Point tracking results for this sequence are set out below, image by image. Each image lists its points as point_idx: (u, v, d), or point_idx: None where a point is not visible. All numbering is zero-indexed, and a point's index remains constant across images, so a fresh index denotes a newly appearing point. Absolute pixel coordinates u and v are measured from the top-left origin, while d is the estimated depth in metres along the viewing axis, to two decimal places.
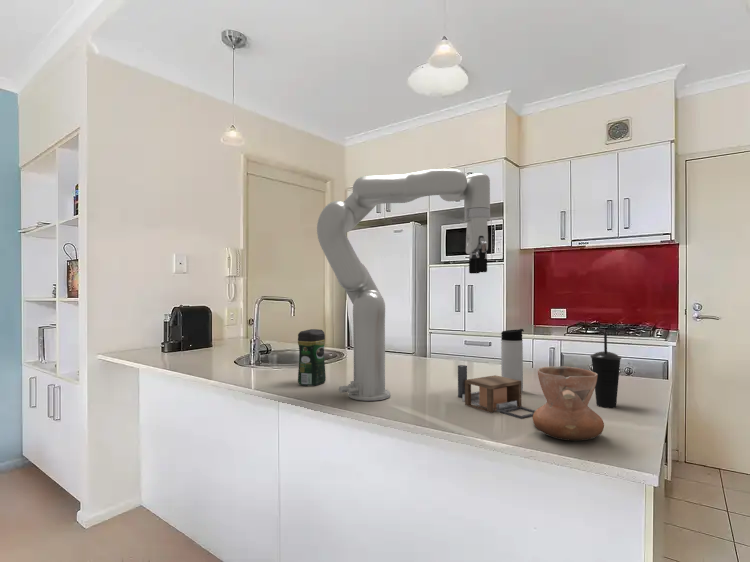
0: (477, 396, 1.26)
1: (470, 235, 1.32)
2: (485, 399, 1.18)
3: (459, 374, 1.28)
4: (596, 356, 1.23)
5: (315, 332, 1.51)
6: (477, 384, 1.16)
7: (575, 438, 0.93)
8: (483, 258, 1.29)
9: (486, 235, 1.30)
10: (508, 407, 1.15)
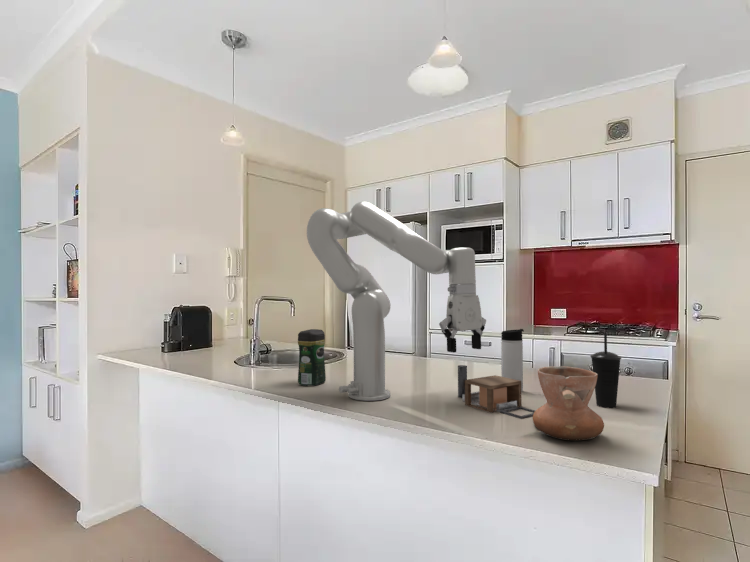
0: (477, 396, 1.26)
1: (477, 312, 1.29)
2: (485, 399, 1.18)
3: (459, 374, 1.28)
4: (596, 356, 1.23)
5: (315, 332, 1.51)
6: (477, 384, 1.16)
7: (575, 438, 0.93)
8: None
9: None
10: (508, 407, 1.15)
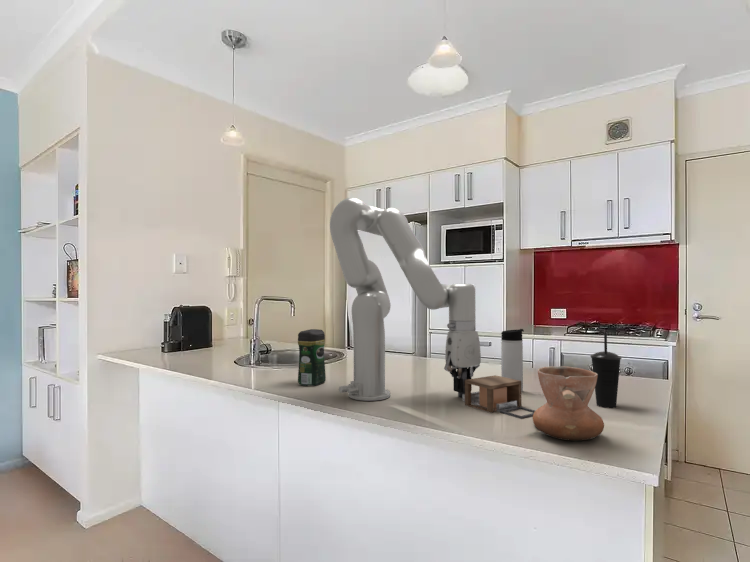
0: (477, 396, 1.26)
1: (476, 348, 1.28)
2: (485, 399, 1.18)
3: None
4: (596, 356, 1.23)
5: (315, 332, 1.51)
6: (477, 384, 1.16)
7: (575, 438, 0.93)
8: None
9: None
10: (508, 407, 1.15)
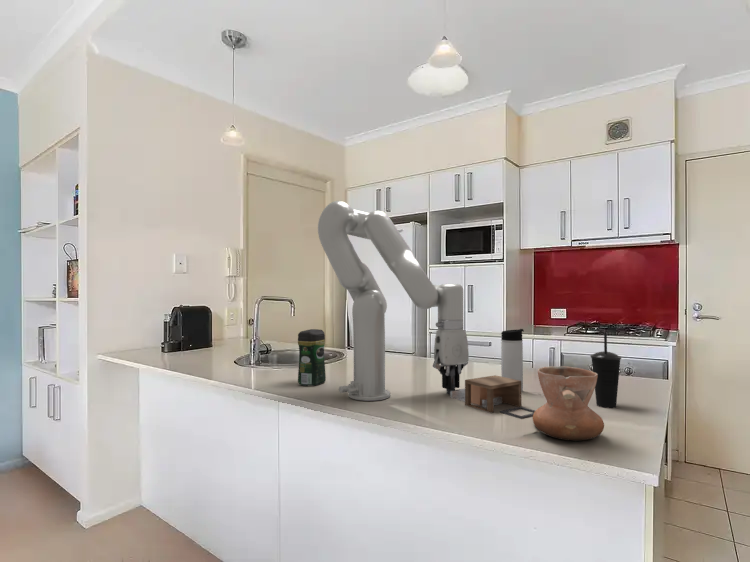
0: None
1: (464, 346, 1.32)
2: (471, 395, 1.22)
3: None
4: (596, 356, 1.23)
5: (315, 332, 1.51)
6: (477, 384, 1.16)
7: (575, 438, 0.93)
8: None
9: None
10: (493, 403, 1.19)
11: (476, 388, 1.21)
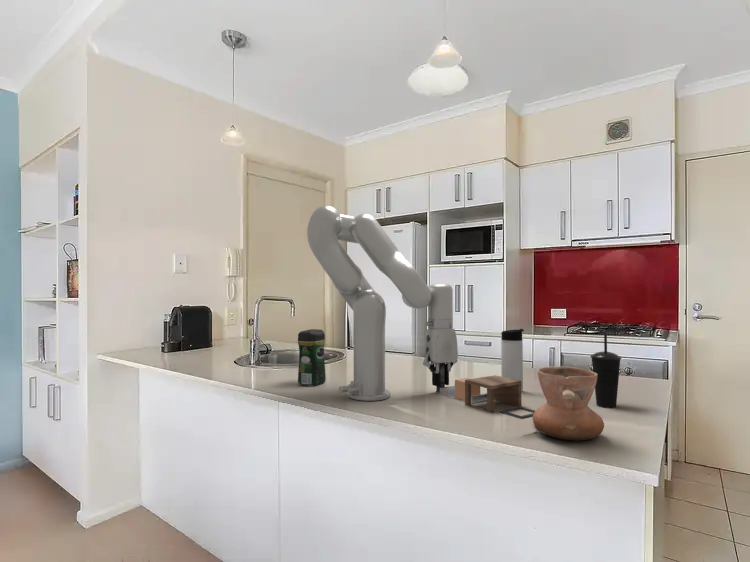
0: (454, 390, 1.34)
1: (453, 345, 1.36)
2: (460, 392, 1.26)
3: None
4: (596, 356, 1.23)
5: (315, 332, 1.51)
6: (477, 384, 1.16)
7: (575, 438, 0.93)
8: None
9: None
10: (481, 399, 1.23)
11: (464, 385, 1.25)
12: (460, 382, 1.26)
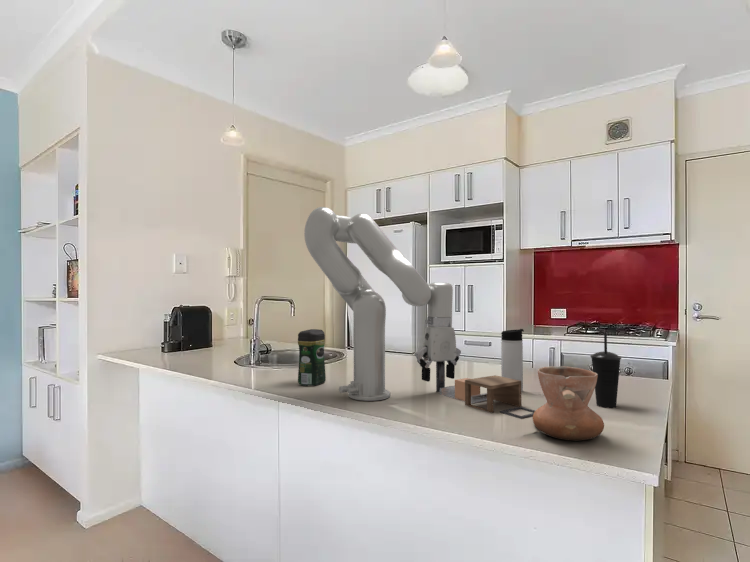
0: (454, 390, 1.34)
1: (452, 344, 1.36)
2: (460, 392, 1.26)
3: (437, 369, 1.36)
4: (596, 356, 1.23)
5: (315, 332, 1.51)
6: (477, 384, 1.16)
7: (575, 438, 0.93)
8: None
9: None
10: (481, 399, 1.23)
11: (463, 385, 1.25)
12: (460, 382, 1.26)
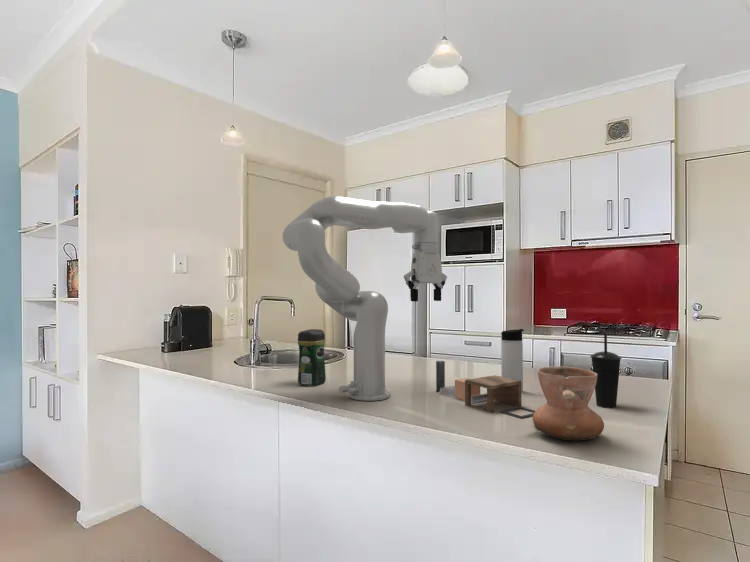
0: (454, 390, 1.34)
1: (438, 267, 1.47)
2: (460, 392, 1.26)
3: (437, 369, 1.36)
4: (596, 356, 1.23)
5: (315, 332, 1.51)
6: (477, 384, 1.16)
7: (575, 438, 0.93)
8: None
9: None
10: (481, 399, 1.23)
11: (463, 385, 1.25)
12: (460, 382, 1.26)
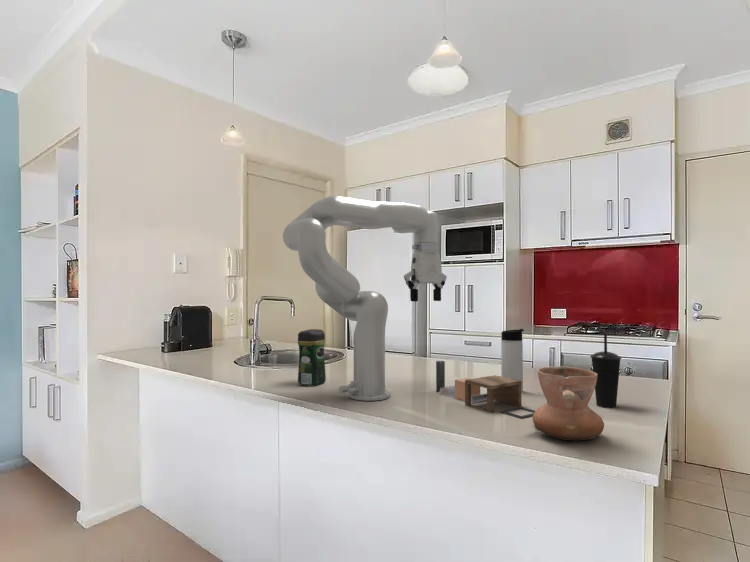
0: (454, 390, 1.34)
1: (438, 267, 1.47)
2: (460, 392, 1.26)
3: (437, 369, 1.36)
4: (596, 356, 1.23)
5: (315, 332, 1.51)
6: (477, 384, 1.16)
7: (575, 438, 0.93)
8: None
9: None
10: (481, 399, 1.23)
11: (463, 385, 1.25)
12: (460, 382, 1.26)
